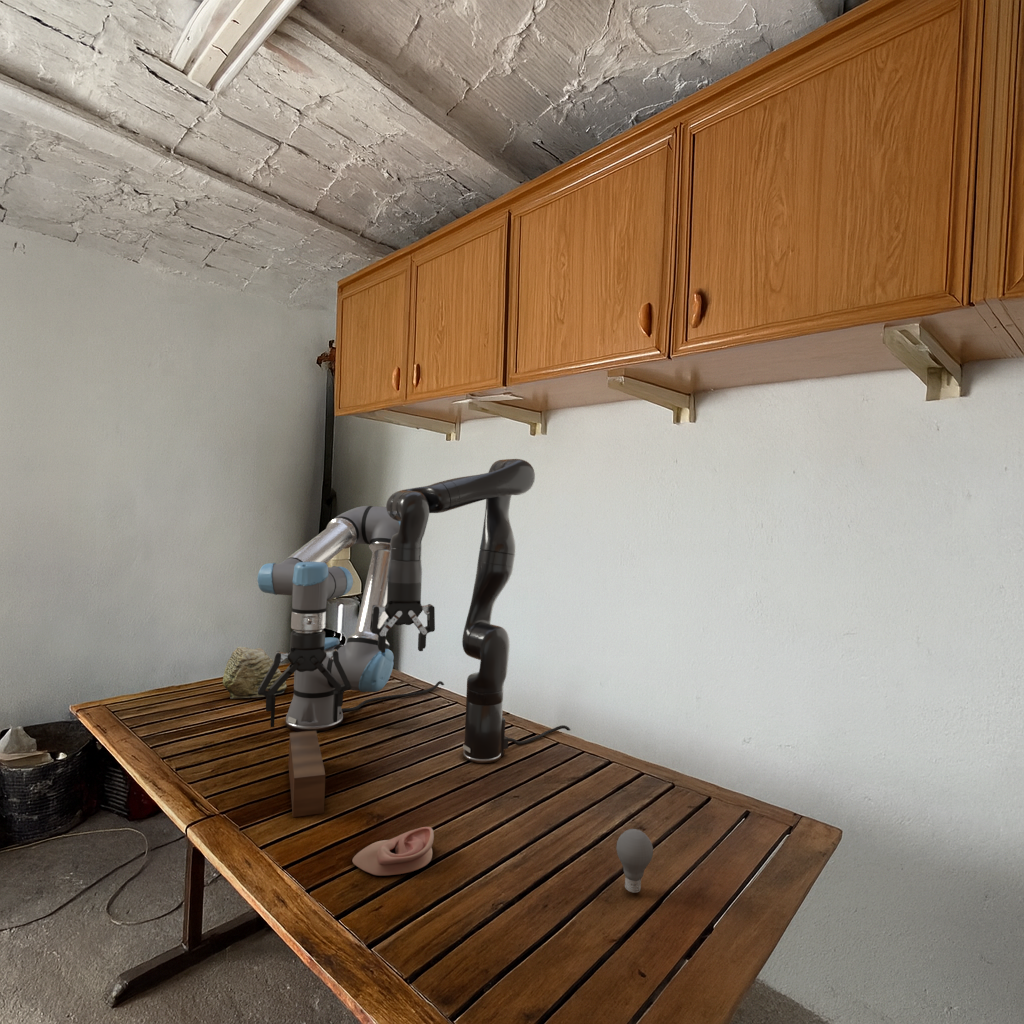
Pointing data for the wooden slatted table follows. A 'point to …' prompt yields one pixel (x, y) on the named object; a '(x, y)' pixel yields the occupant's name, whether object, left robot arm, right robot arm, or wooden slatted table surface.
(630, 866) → the light bulb
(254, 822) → the wooden slatted table surface
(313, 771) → the bar
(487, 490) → the right robot arm
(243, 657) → the fossil
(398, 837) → the anatomical model
